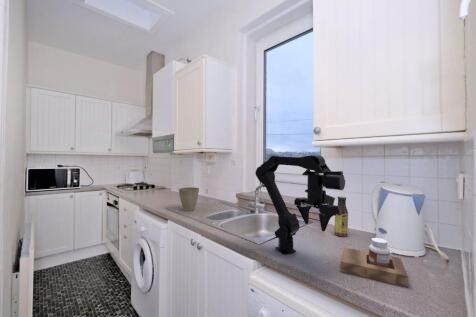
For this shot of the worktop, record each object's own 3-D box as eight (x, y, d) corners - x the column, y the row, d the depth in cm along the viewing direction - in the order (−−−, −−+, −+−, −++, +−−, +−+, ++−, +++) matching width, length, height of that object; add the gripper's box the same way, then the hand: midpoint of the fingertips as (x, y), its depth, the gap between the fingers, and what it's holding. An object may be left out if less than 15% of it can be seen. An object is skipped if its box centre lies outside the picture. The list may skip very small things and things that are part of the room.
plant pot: (186, 206, 174) (186, 186, 173) (202, 208, 168) (202, 188, 168) (174, 211, 160) (174, 189, 160) (191, 213, 154) (191, 190, 154)
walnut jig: (340, 271, 78) (340, 261, 78) (343, 255, 90) (343, 247, 90) (407, 287, 68) (407, 276, 68) (400, 267, 81) (400, 258, 81)
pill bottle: (366, 265, 82) (367, 236, 82) (385, 268, 80) (386, 238, 80) (371, 273, 76) (371, 242, 76) (391, 277, 74) (392, 244, 74)
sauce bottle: (343, 238, 110) (344, 198, 109) (331, 234, 115) (332, 196, 114) (350, 235, 113) (350, 197, 113) (338, 231, 119) (339, 195, 118)
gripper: (350, 189, 80) (350, 232, 80) (314, 183, 97) (314, 218, 97) (327, 191, 76) (326, 236, 76) (293, 184, 93) (293, 221, 93)
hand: (314, 227), depth 86 cm, fingers open, 9 cm apart
